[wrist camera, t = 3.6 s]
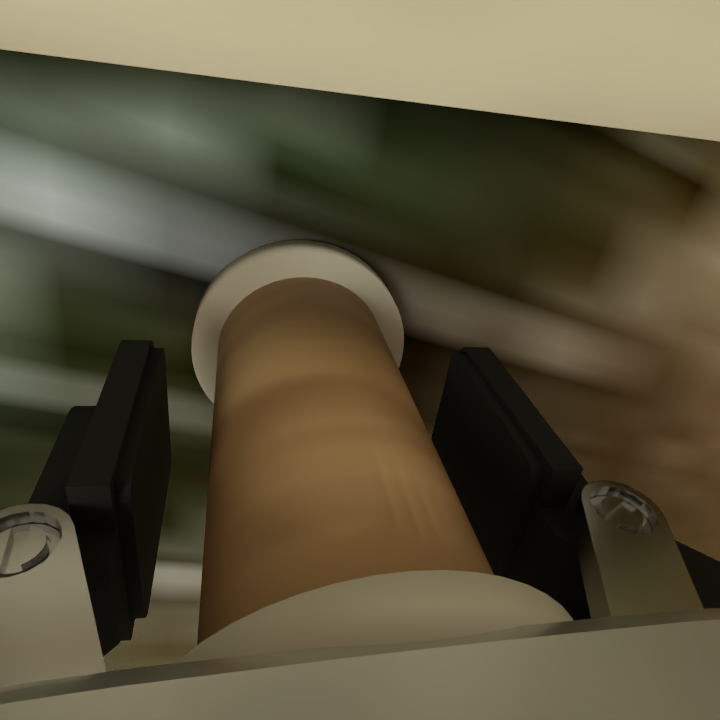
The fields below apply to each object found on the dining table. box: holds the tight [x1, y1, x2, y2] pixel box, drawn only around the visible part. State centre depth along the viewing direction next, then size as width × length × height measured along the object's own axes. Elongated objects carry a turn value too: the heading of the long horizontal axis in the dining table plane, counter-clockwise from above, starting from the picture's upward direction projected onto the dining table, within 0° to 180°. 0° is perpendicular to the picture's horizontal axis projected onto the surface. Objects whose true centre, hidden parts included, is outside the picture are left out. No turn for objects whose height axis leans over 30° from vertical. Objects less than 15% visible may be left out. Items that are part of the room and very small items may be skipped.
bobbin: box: [176, 240, 574, 663], centre depth 10 cm, size 5×5×10 cm
